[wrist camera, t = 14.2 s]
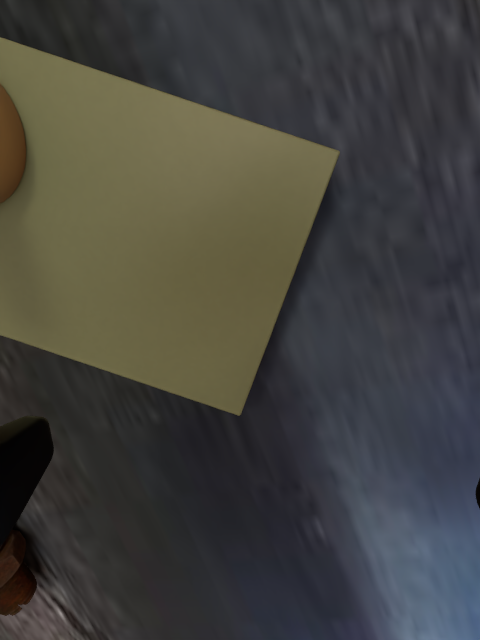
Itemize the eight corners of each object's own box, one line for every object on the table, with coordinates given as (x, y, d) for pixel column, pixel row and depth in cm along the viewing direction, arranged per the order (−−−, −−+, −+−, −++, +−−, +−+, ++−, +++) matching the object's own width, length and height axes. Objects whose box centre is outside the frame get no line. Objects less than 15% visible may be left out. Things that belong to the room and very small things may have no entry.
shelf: (328, 160, 17) (340, 151, 13) (247, 379, 21) (240, 416, 18) (-60, 30, 17) (-151, -14, 13) (-57, 277, 22) (-124, 293, 18)
